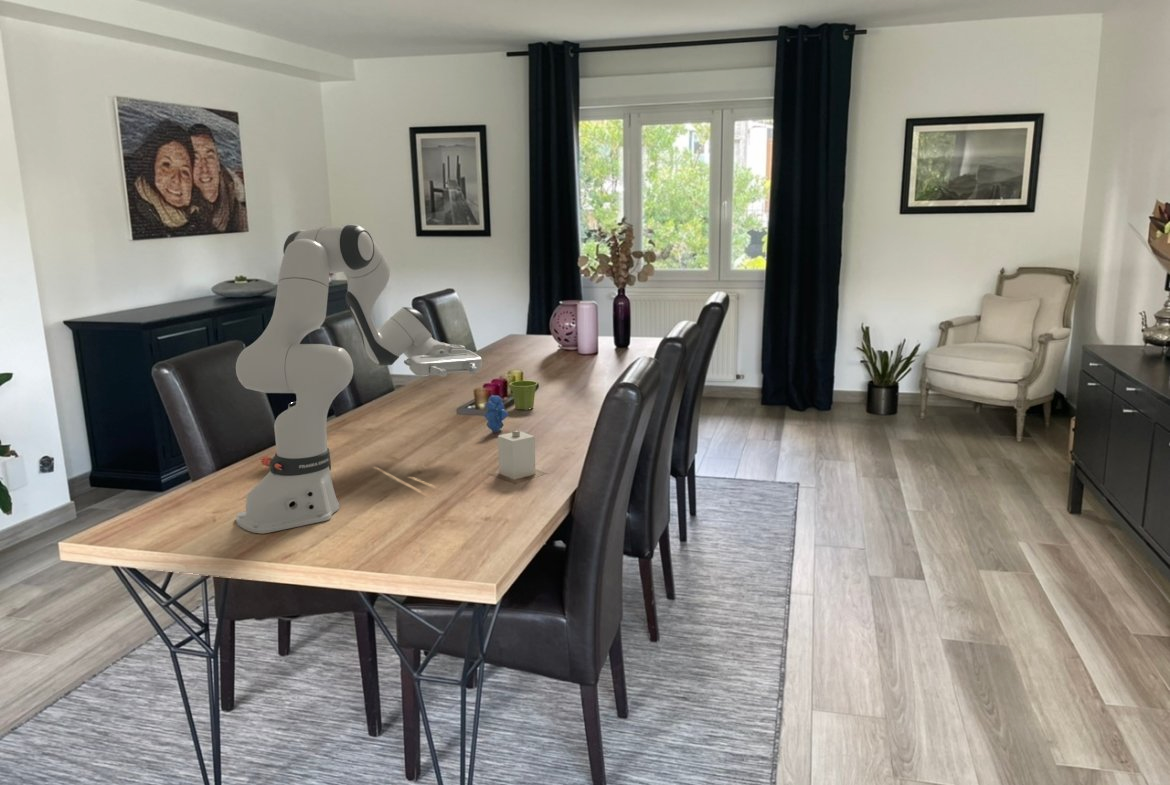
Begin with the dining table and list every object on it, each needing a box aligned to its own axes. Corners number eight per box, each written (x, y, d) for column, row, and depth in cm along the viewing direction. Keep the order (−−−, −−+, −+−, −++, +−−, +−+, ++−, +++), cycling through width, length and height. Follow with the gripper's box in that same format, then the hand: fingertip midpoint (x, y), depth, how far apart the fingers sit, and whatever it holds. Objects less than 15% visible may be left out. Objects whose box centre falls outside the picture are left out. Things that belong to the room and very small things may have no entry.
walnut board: (514, 488, 213) (514, 483, 212) (487, 478, 220) (487, 473, 220) (548, 477, 220) (548, 473, 220) (520, 468, 228) (520, 464, 227)
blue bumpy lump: (501, 438, 255) (500, 399, 253) (480, 437, 257) (479, 398, 254) (515, 428, 266) (514, 390, 263) (495, 427, 268) (494, 389, 265)
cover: (513, 479, 215) (512, 436, 213) (499, 473, 220) (497, 431, 218) (535, 474, 219) (534, 431, 217) (520, 467, 224) (519, 426, 222)
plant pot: (506, 406, 293) (505, 382, 291) (532, 403, 297) (531, 379, 295) (516, 413, 285) (515, 387, 283) (542, 409, 289) (541, 384, 287)
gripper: (401, 349, 233) (425, 364, 222) (467, 344, 245) (493, 358, 235) (400, 371, 235) (423, 387, 224) (466, 365, 247) (491, 380, 237)
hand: (459, 372), depth 230 cm, fingers open, 8 cm apart
